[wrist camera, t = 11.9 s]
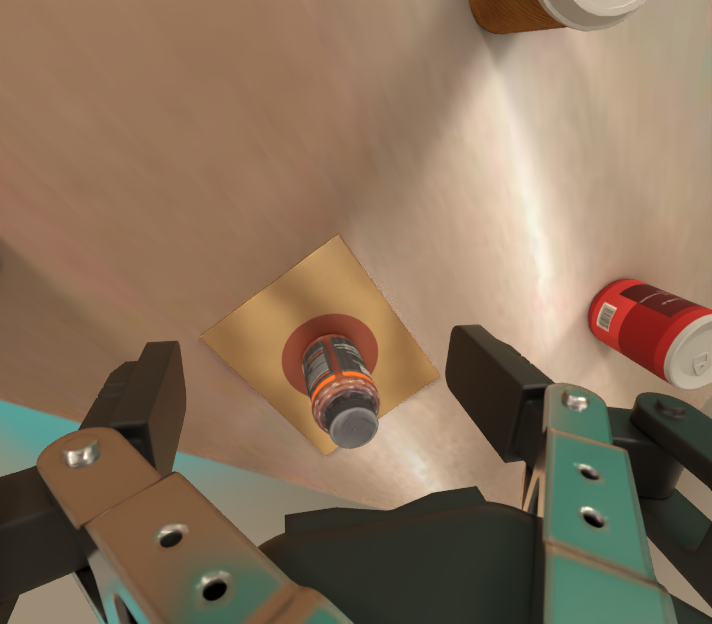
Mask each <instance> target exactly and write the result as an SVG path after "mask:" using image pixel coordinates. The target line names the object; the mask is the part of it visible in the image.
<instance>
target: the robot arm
mask: <svg viewBox="0 0 712 624" xmlns="http://www.w3.org/2000/svg"><path fill="white" fill-rule="evenodd" d="M445 376H446V382H447V385H448V388H449V389H450V391H451V392H452V393H453V395H454V396H455V397H456V399H457V400H458V401H459V403H460V404H461V405H462V407H463V408H464V409H465V411H466V412H467V413H468V415H469V416H470V417H471V419H472V420H473V421H474V423H475V424H476V425H477V427H478V428H479V429H480V431H481V432H482V433H483V435H484V436H485V437H486V439H487V440H488V441H489V443H490V444H491V445H492V447H493V448H494V449H495V450H496V452H497V453H498V454H499V456H500V457H501V458H502V460H503V461H504V462H505V463H508V462H515V461H523V460H524V461H525V463H526V464H525V468H524V472H523V477H522V486H521V495H520V504H519V509H518V508H515V507H512V506H509V505H505V504H501V503H495V502H488V501H486V500H485V499H484V497H483V495H482V494H481V492H480V491H479V489H478V487H477V486H474V487H468V488H461V489H454V490H448V491H441V492H435V493H431V494H429V495H427V496H424V497H422V498H419V499H417V500H415V501H412V502H410V503H408V504H405V505H403V506H400V507H398V508H396V509H393V510H388V511H383V510H367V509H353V508H338V507H336V508H329V509H322V510H315V511H309V512H302V513H295V514H289V515H285V533H283V534H280V535H278V536H276V537H274V538H272V539H270V540H268V541H266V542H265V543H263V544H261V545H260V546H259V547H256V546H255V545H254V544H253V543H252V542H251V541H250V540H249V539H248V538H247V537H246V536H245V535H244V534H243V533H242V532H241V531H240V530H239V529H238V528H237V527H236V526H235V525H234V524H233V523H232V522H231V521H229V520H228V519H227V518H226V517H225V516H224V515H223V514H222V513H221V512H220V511H219V510H218V509H217V508H216V507H215V506H214V505H213V504H212V503H211V502H210V501H209V500H208V499H207V498H206V497H205V496H204V495H203V494H202V493H200V492H199V491H198V490H197V489H196V488H195V487H194V486H193V485H192V484H191V483H190V482H189V481H188V480H187V479H186V478H185V477H184V476H183V475H182V474H180V473H178V472H172V468H173V463H174V459H175V455H176V451H177V446H178V442H179V438H180V433H181V429H182V425H183V420H184V416H185V411H186V389H185V381H184V374H183V366H182V358H181V351H180V345H179V342H178V341H163V342H148V343H147V344H146V346H145V348H144V350H143V352H142V354H141V356H140V358H139V360H138V361H131V362H125V363H124V364H122V365H121V366H120V367H118V368H117V369H116V370H114V371H113V372H111V374H110V375H109V377H108V379H107V381H106V382H105V384H104V388H102V389H101V391H100V393H99V394H98V398H96V400H95V401H94V403H93V405H92V407H91V408H90V410H89V412H88V414H87V415H86V417H85V419H84V421H83V422H82V424H81V426H80V428H79V429H78V431H75V432H72V433H69V434H67V435H65V436H63V437H61V438H59V439H57V440H56V441H54V442H53V443H51V444H50V445H49V446H47V447H46V448H45V449H44V450H43V451H42V453H41V454H40V455H39V457H38V459H37V465H36V466H34V467H31V468H28V469H25V470H22V471H19V472H16V473H12V474H9V475H6V476H2V477H0V624H7V623H8V620H9V618H10V616H11V613H12V611H13V609H14V606H15V604H16V602H17V599H18V597H19V595H20V594H22V593H25V592H27V591H30V590H32V589H34V588H37V587H39V586H41V585H44V584H46V583H49V582H51V581H53V580H56V579H58V578H61V577H63V576H65V575H68V574H70V573H71V574H72V575H73V577H74V579H75V581H76V583H77V584H78V586H79V588H80V590H81V591H82V593H83V595H84V596H85V598H86V600H87V602H88V603H89V605H90V607H91V608H92V610H93V612H94V614H95V615H96V617H97V619H98V621H99V622H100V624H712V618H711V617H709V616H708V615H706V614H705V613H703V612H701V611H699V610H698V609H696V608H694V607H692V606H691V605H689V604H687V603H685V602H684V601H682V600H680V599H679V598H677V597H675V596H673V595H672V594H670V593H669V592H668V591H667V589H666V588H665V587H664V586H663V585H661V584H659V582H658V581H657V579H656V576H655V573H654V568H653V564H652V559H651V555H650V550H649V546H648V541H647V536H648V538H649V539H650V540H651V541H652V542H653V543H654V544H655V545H656V547H657V548H658V549H659V550H660V551H661V552H662V553H663V554H664V555H665V556H666V557H667V559H668V560H669V561H670V562H671V563H672V564H673V565H674V566H675V568H676V569H677V570H678V571H679V572H680V573H681V574H682V575H683V576H684V578H686V580H687V581H688V582H689V583H690V584H691V585H692V587H693V588H694V589H695V590H696V591H697V592H698V593H699V594H700V595H701V597H702V598H703V599H704V600H705V601H706V602H707V603H708V604H709V606H711V608H712V521H711V520H710V519H708V518H707V517H706V516H705V515H704V514H703V513H702V512H701V511H700V510H699V509H697V508H696V507H695V506H694V505H693V504H692V503H691V502H690V501H689V500H687V498H685V497H684V496H683V495H682V494H681V493H680V492H679V491H678V490H677V489H675V486H676V484H677V482H678V479H679V477H680V475H681V473H682V471H683V469H684V467H685V468H686V469H688V470H689V471H690V472H691V473H692V474H694V475H695V476H696V477H697V478H698V479H699V480H701V481H702V482H703V483H704V484H705V485H707V486H708V487H709V488H710V489H711V491H712V419H711V418H709V417H708V416H706V415H705V414H703V413H702V412H700V411H699V410H697V409H696V408H695V407H693V406H691V405H690V404H688V403H686V402H684V401H682V400H680V399H677V398H674V397H671V396H668V395H664V394H660V393H652V392H647V393H641V394H639V395H638V396H637V398H636V400H635V403H634V406H633V409H623V408H614V407H607V406H606V403H605V402H604V400H603V399H602V398H601V397H599V396H598V395H597V394H595V393H594V392H592V391H590V390H588V389H585V388H583V387H580V386H577V385H573V384H567V383H554V382H553V381H552V380H551V379H549V378H548V377H547V376H546V375H545V374H544V373H542V372H541V371H540V370H539V369H538V368H536V367H535V366H534V365H533V364H530V362H529V361H528V360H527V359H526V358H525V357H523V356H521V354H520V353H519V352H518V351H516V350H515V349H514V348H513V347H512V346H510V345H508V344H506V343H504V342H502V341H500V340H498V339H496V338H495V337H493V336H492V335H491V334H490V333H489V332H488V331H487V330H485V329H484V328H483V327H482V326H481V325H478V324H477V325H459V326H455V327H454V328H453V329H452V332H451V337H450V343H449V350H448V357H447V363H446V370H445ZM171 472H172V473H171ZM646 535H647V536H646Z"/></svg>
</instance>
